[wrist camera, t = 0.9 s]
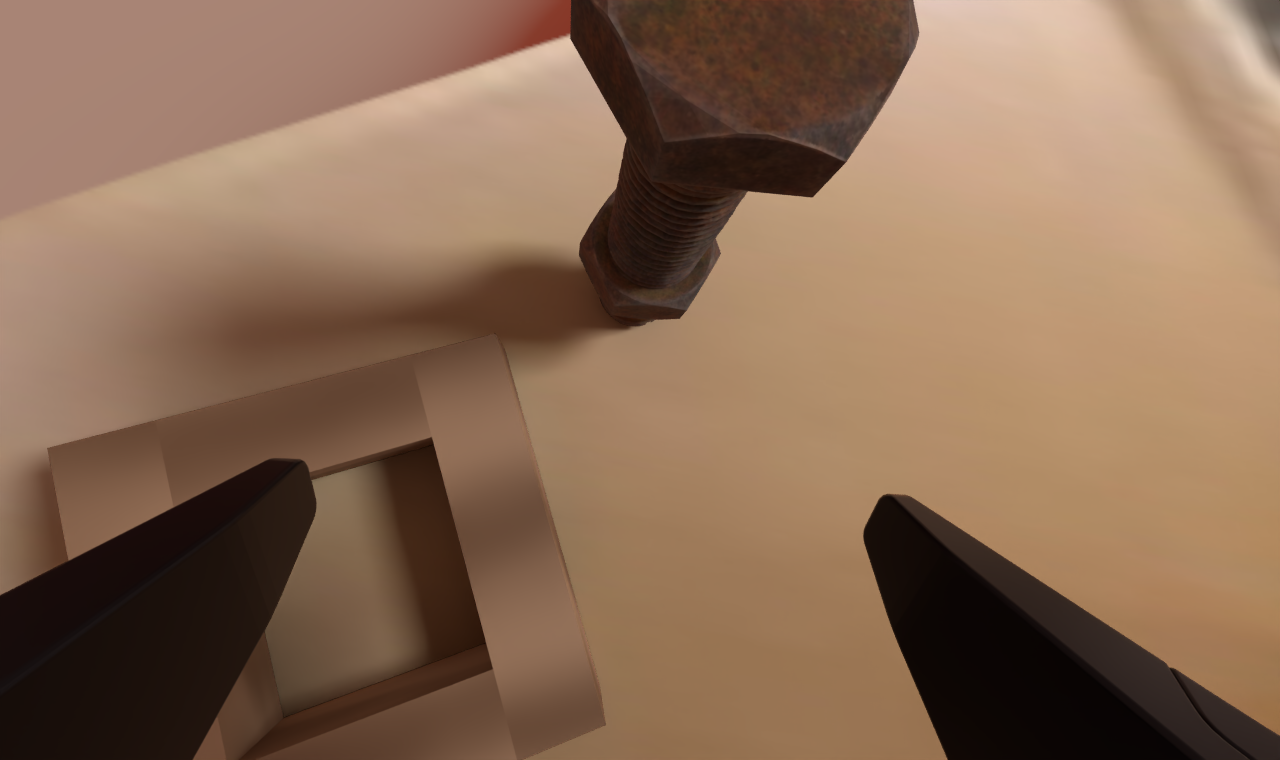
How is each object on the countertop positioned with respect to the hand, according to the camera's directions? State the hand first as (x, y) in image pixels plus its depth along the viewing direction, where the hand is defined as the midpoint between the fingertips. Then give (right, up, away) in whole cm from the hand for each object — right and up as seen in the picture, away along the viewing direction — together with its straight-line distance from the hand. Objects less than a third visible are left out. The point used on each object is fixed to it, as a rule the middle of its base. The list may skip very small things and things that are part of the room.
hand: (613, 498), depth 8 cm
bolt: (0, +6, +15) cm, 16 cm away
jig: (-10, -5, +11) cm, 16 cm away
